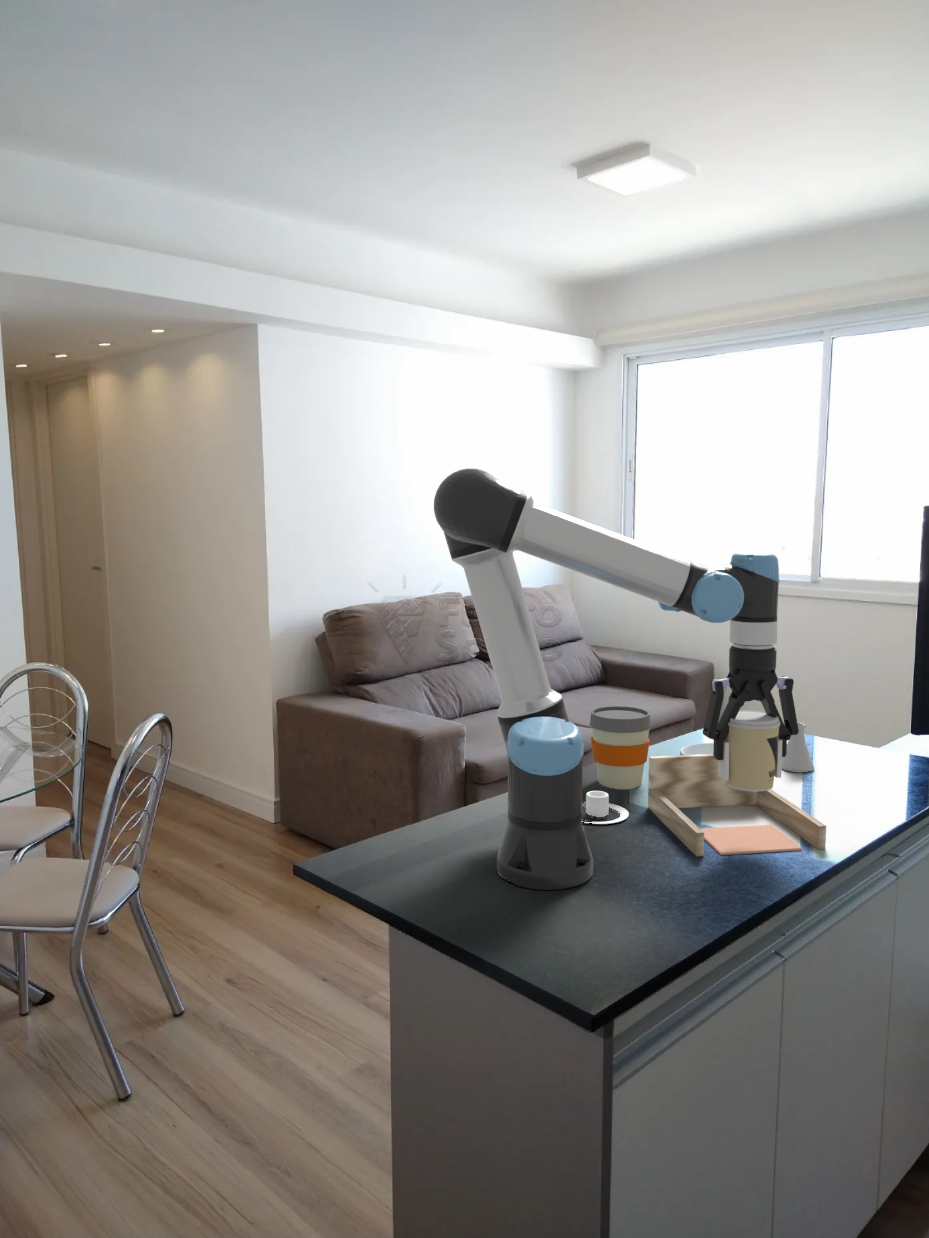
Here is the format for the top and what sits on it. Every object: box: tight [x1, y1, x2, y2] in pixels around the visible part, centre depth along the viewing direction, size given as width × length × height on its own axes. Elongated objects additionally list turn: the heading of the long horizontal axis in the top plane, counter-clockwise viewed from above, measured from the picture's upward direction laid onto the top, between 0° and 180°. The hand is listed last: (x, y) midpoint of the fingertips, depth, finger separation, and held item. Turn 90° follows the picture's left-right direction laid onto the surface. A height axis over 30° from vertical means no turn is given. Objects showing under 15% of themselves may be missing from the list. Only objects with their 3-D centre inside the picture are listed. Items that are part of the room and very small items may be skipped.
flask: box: [781, 722, 815, 773], centre depth 190 cm, size 7×7×10 cm
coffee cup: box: [725, 709, 780, 792], centre depth 148 cm, size 9×9×12 cm
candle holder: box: [582, 790, 630, 825], centre depth 163 cm, size 12×12×4 cm
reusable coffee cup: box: [589, 705, 652, 790], centre depth 181 cm, size 13×13×15 cm
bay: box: [647, 754, 827, 857], centre depth 156 cm, size 22×24×10 cm
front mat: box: [700, 824, 803, 856], centre depth 150 cm, size 14×11×1 cm
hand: (749, 776), depth 148 cm, fingers closed on coffee cup, 9 cm apart
